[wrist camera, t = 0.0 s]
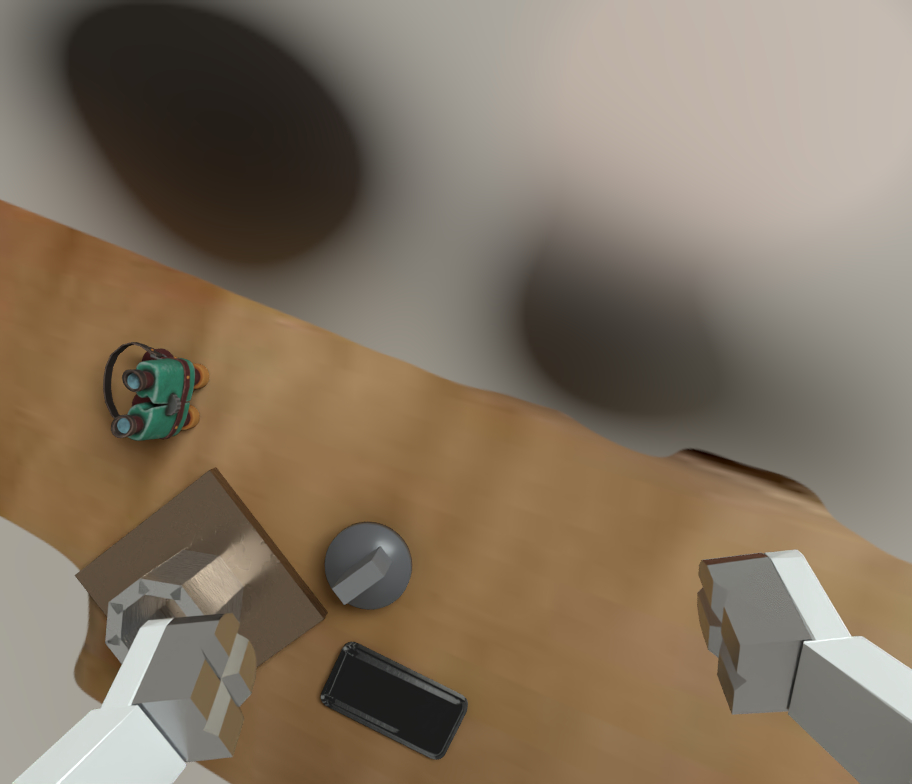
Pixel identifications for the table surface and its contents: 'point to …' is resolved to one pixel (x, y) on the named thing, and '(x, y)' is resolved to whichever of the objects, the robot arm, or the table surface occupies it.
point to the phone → (394, 700)
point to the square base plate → (201, 572)
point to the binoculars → (156, 395)
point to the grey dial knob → (368, 565)
